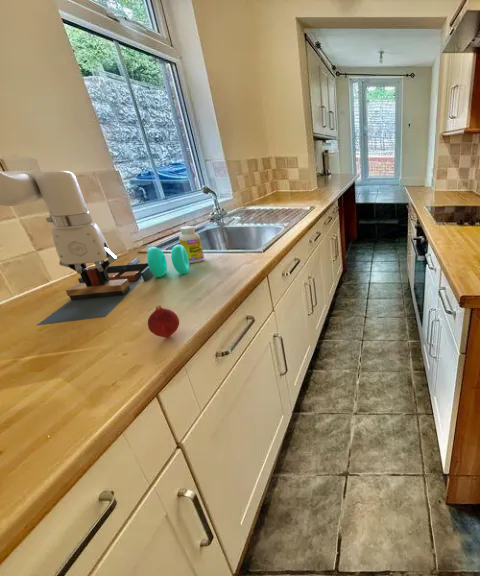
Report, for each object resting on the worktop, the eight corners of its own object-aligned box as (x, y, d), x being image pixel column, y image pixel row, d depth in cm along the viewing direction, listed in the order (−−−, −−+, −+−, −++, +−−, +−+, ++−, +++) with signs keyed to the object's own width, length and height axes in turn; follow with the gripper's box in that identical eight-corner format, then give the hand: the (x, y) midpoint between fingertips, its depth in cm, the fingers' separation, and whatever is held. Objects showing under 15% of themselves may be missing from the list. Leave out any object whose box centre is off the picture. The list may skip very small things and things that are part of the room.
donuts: (187, 277, 106) (179, 248, 102) (152, 281, 102) (142, 252, 98) (191, 267, 114) (184, 240, 110) (159, 271, 111) (150, 244, 107)
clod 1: (100, 284, 100) (98, 278, 99) (107, 279, 104) (104, 273, 103) (115, 282, 101) (113, 276, 100) (121, 278, 105) (119, 272, 104)
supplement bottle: (191, 264, 117) (182, 230, 112) (181, 261, 121) (172, 228, 115) (208, 259, 123) (200, 226, 117) (198, 256, 126) (190, 224, 121)
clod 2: (121, 282, 101) (119, 276, 101) (127, 277, 105) (125, 271, 104) (136, 280, 102) (134, 275, 102) (141, 276, 106) (139, 270, 105)
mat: (36, 326, 77) (36, 325, 77) (87, 288, 98) (86, 287, 97) (105, 317, 81) (105, 316, 81) (140, 283, 101) (139, 282, 101)
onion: (188, 334, 74) (179, 303, 70) (161, 346, 69) (150, 314, 66) (174, 327, 76) (165, 297, 73) (148, 339, 72) (136, 307, 68)
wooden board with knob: (69, 300, 89) (57, 273, 86) (79, 293, 93) (68, 267, 90) (124, 295, 92) (114, 268, 89) (131, 288, 97) (122, 263, 93)
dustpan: (145, 282, 102) (142, 272, 101) (81, 288, 98) (77, 278, 96) (165, 262, 120) (162, 253, 119) (111, 266, 115) (108, 258, 114)
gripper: (24, 225, 79) (55, 292, 86) (103, 221, 83) (126, 285, 91) (43, 219, 85) (70, 282, 93) (115, 216, 90) (136, 276, 97)
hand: (98, 283), depth 92 cm, fingers closed on wooden board with knob, 2 cm apart
